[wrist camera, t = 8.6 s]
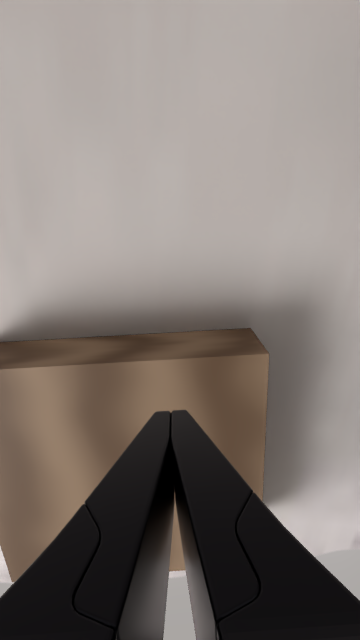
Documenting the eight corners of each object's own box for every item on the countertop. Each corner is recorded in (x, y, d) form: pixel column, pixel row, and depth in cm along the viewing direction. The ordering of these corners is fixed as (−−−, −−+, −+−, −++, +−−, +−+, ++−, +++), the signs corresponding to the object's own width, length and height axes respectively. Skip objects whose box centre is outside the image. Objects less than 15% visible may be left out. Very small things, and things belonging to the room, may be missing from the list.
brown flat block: (250, 328, 20) (269, 353, 17) (246, 512, 25) (259, 565, 22) (-13, 343, 20) (-55, 372, 16) (35, 526, 25) (11, 582, 21)
